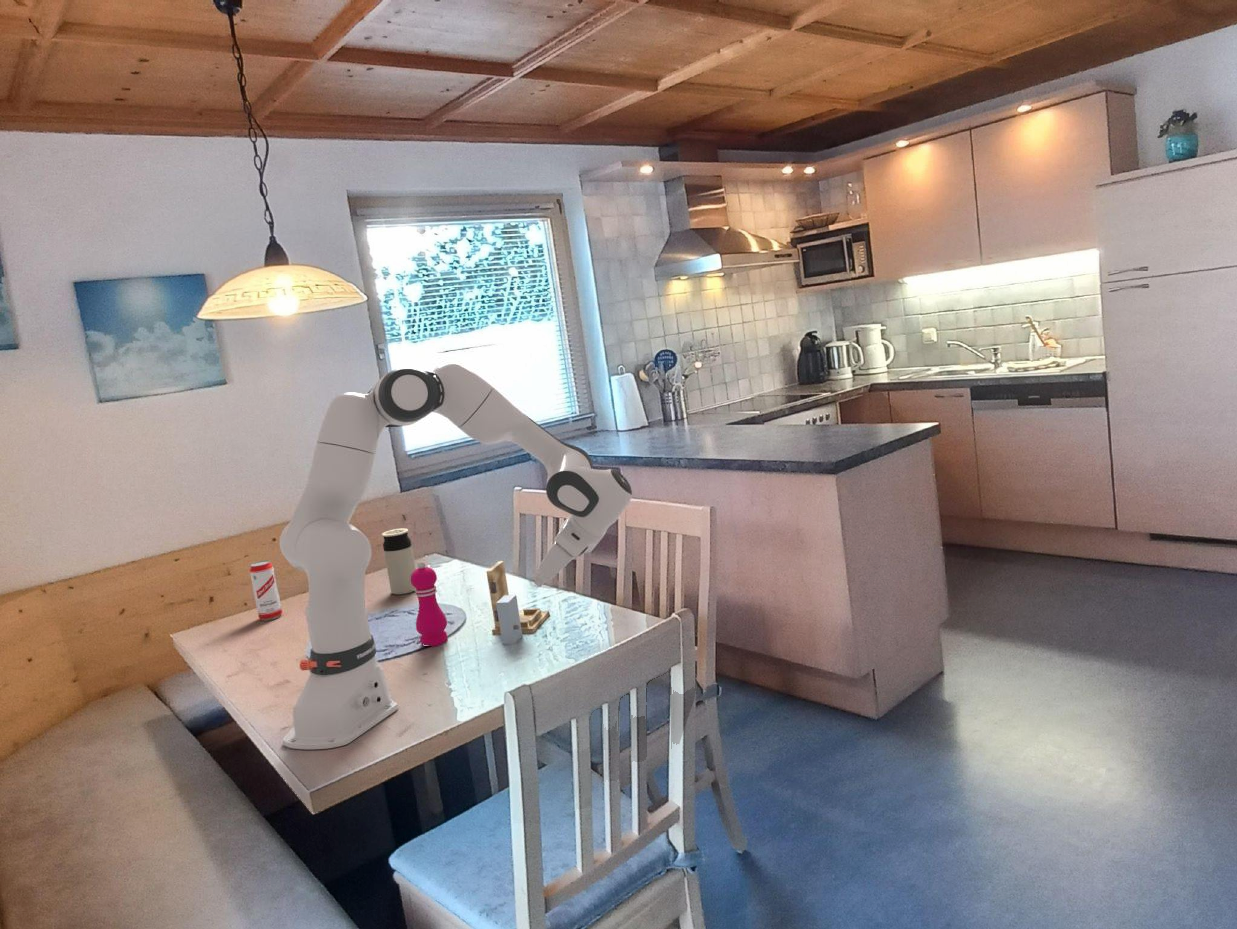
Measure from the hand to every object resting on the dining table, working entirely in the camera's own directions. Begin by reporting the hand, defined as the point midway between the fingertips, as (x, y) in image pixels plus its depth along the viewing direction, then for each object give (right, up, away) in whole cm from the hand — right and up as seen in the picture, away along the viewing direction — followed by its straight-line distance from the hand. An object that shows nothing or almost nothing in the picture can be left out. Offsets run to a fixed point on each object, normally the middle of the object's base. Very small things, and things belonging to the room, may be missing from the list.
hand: (544, 577), depth 188 cm
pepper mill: (-27, -17, +10) cm, 34 cm away
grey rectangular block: (-8, -15, +5) cm, 18 cm away
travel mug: (-46, -12, +57) cm, 74 cm away
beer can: (-82, -18, +47) cm, 96 cm away
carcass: (-6, -13, +15) cm, 21 cm away
